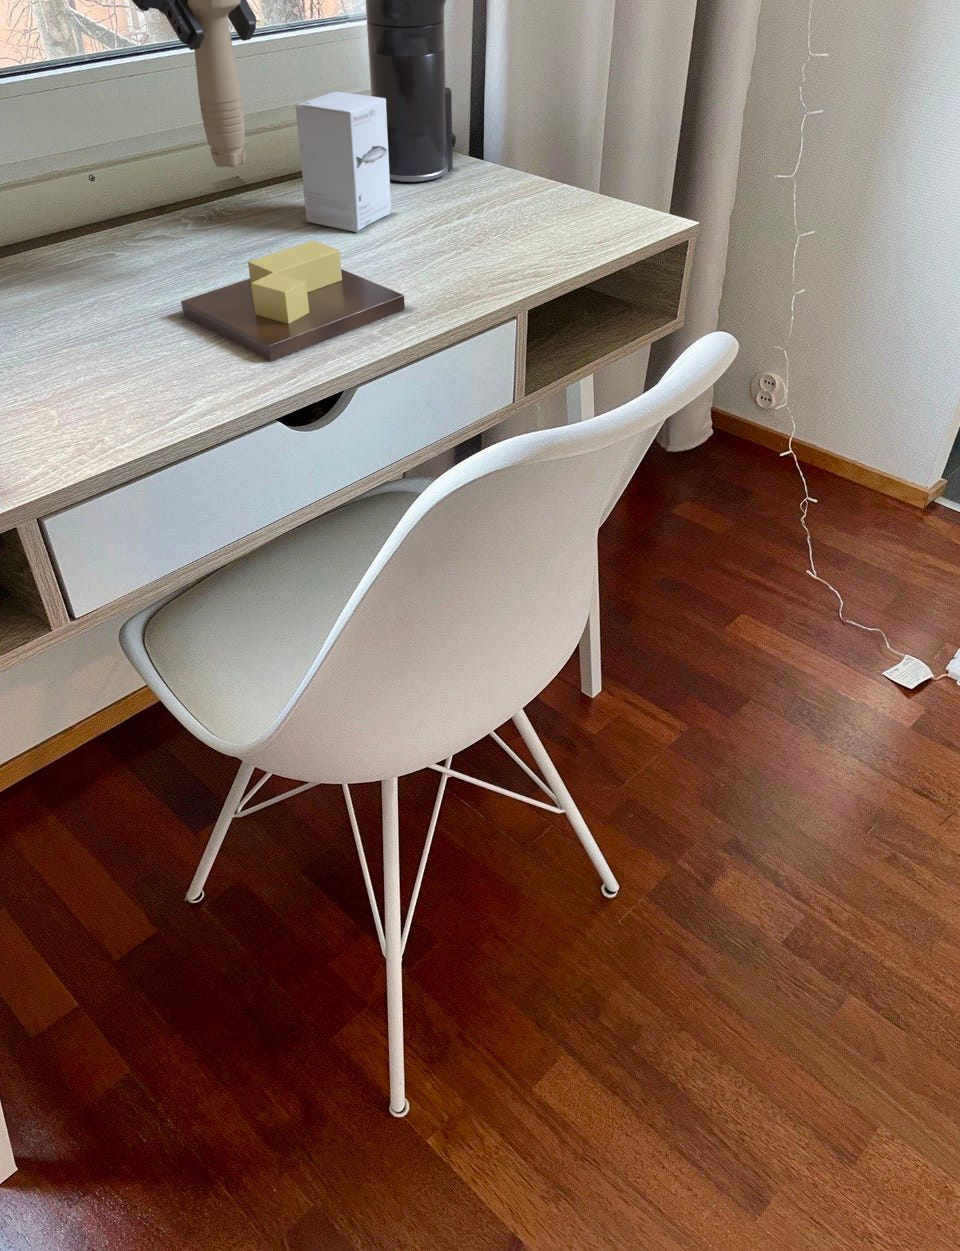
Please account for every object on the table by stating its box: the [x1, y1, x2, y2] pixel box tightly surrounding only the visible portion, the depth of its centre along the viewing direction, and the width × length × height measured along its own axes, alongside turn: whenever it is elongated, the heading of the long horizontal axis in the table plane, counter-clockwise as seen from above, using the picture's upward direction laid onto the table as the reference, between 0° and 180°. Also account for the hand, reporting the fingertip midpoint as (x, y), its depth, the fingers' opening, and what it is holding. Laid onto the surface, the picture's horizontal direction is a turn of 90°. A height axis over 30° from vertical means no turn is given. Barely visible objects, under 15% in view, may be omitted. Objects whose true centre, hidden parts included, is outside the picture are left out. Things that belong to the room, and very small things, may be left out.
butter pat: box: [251, 273, 309, 324], centre depth 96 cm, size 3×4×3 cm
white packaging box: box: [295, 91, 392, 233], centre depth 117 cm, size 7×7×13 cm
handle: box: [185, 0, 246, 168], centre depth 97 cm, size 5×6×15 cm
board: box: [180, 268, 406, 362], centre depth 100 cm, size 16×14×2 cm
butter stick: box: [247, 239, 342, 293], centre depth 101 cm, size 8×4×3 cm, turn 136°
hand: (224, 37), depth 93 cm, fingers closed on handle, 5 cm apart
